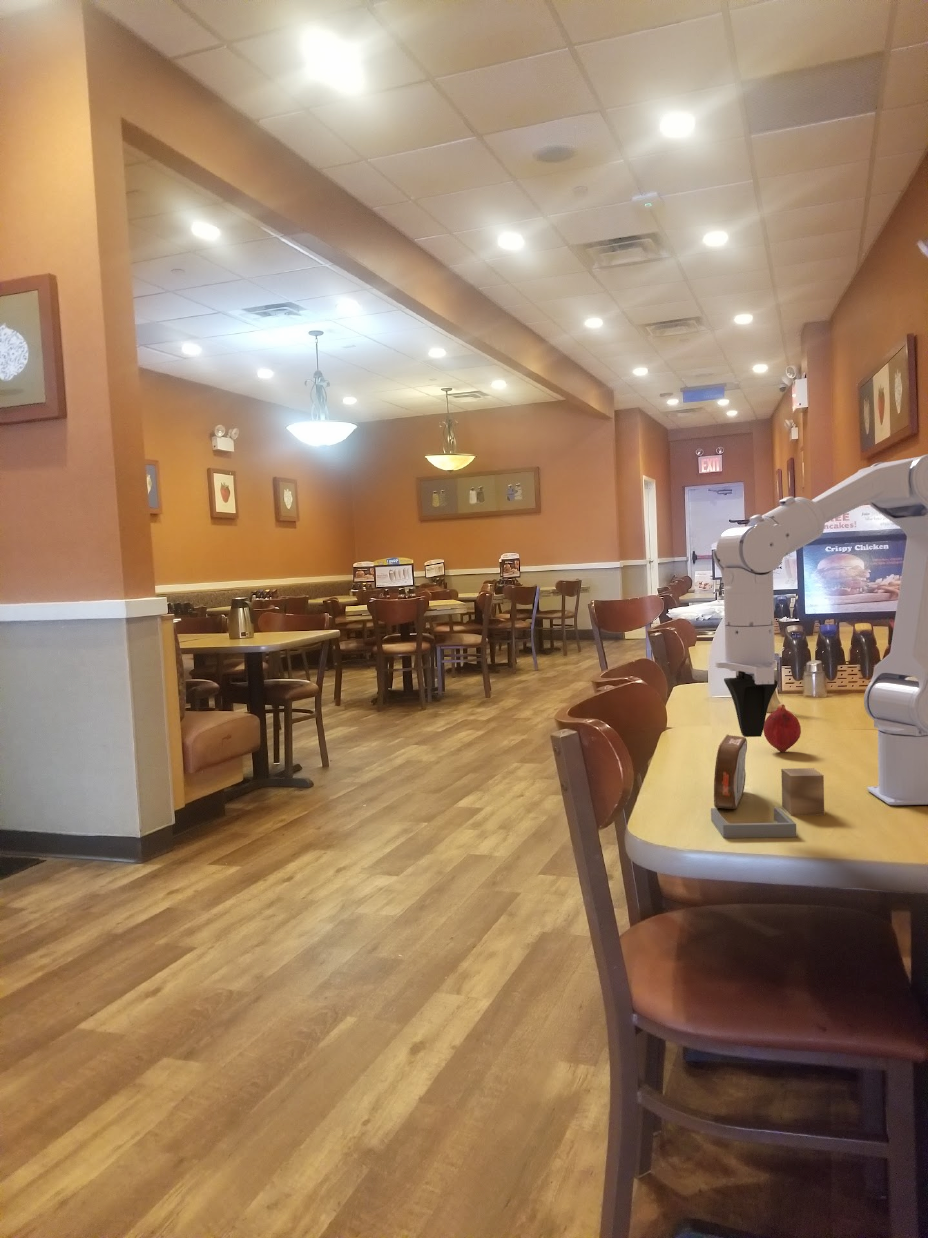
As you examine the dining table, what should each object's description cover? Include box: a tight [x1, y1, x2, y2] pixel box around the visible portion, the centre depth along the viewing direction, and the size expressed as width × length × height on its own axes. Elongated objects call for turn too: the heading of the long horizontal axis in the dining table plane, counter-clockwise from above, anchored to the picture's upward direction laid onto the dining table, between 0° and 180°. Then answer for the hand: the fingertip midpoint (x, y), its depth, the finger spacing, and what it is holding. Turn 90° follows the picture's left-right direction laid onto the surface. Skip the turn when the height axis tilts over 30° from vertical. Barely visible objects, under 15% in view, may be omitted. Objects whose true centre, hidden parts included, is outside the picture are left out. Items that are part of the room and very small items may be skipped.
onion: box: [763, 703, 802, 753], centre depth 146 cm, size 6×6×8 cm
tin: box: [713, 733, 748, 810], centre depth 117 cm, size 15×3×8 cm, turn 157°
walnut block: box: [781, 767, 825, 816], centre depth 112 cm, size 4×4×5 cm
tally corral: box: [710, 806, 797, 839], centre depth 105 cm, size 8×7×2 cm
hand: (751, 735), depth 108 cm, fingers closed
